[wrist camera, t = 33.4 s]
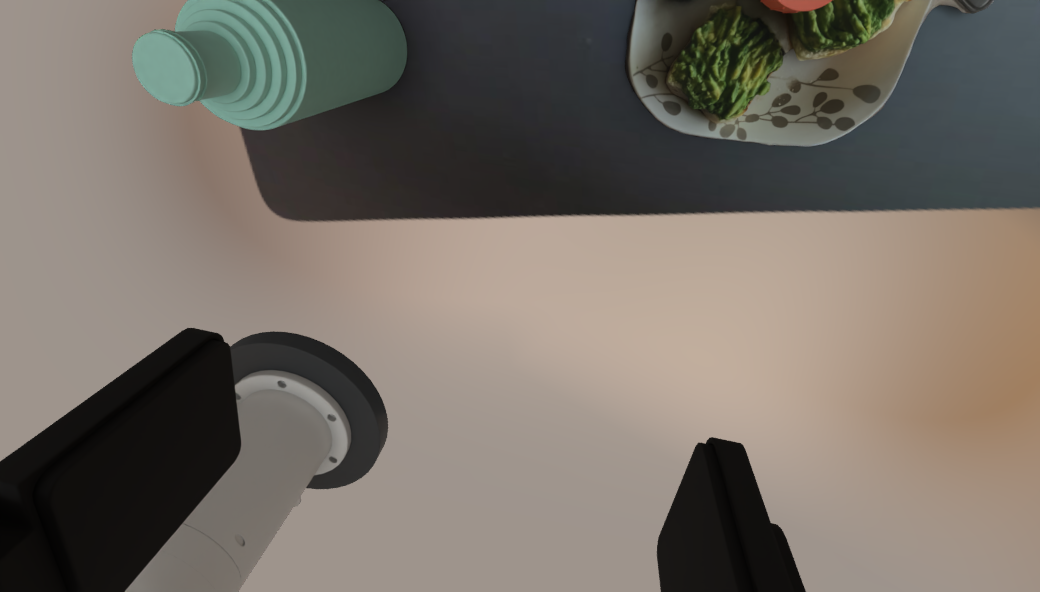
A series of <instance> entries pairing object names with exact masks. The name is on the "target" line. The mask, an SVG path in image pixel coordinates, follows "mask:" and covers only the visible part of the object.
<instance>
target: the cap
mask: <svg viewBox="0 0 1040 592" xmlns="http://www.w3.org/2000/svg"><path fill="white" fill-rule="evenodd" d="M831 1H832V0H761V2H763V3H764V4H765V5H766V6H767V7H769V8H770V10H775V11H780V12H782V13H798V12H799V11H813V10H815V9H818V8H820V7H823V6H825V5H826V4H828V3H830V2H831Z"/></svg>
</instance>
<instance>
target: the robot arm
mask: <svg viewBox="0 0 1040 592" xmlns="http://www.w3.org/2000/svg"><path fill="white" fill-rule="evenodd" d="M350 444H351V429H350V425H349V421H348V419H347V417H346V415H345V413H344V411H343V410H342V408H341V407H340V405H339V404H338V403H337V402H336V401H335V400H334V398H333V397H332V396H331V395H330V394H329V393H327V392H326V391H325V390H324V389H322V388H321V387H320V386H318V385H317V384H315V383H313V382H311V381H310V380H308V379H306V378H303V377H301V376H299V375H296V374H293V373H289V372H285V371H277V370H264V371H258V372H254V373H251V374H249V375H247V376H245V377H244V378H242V379H241V380H240V381H239V382H238V383H237V384H236V385H235V384H234V375H233V367H232V358H231V350H230V346H229V345H228V343H225V342H224V340H223V337H222V336H221V335H220V334H218V333H214V332H209V331H204V330H200V329H195V328H187V329H185V330H183V331H181V332H180V333H179V334H177V335H176V336H175V337H173V338H172V339H170V340H169V341H168V342H166V343H165V344H163V345H162V346H161V347H159V348H158V349H156V350H155V351H154V352H152V353H151V354H149V355H148V356H147V357H145V358H144V359H142V360H141V361H140V362H139V363H137V364H136V365H134V366H133V367H132V368H130V369H129V370H127V371H126V372H124V373H123V374H122V375H120V376H119V377H117V378H116V379H115V380H113V381H112V382H110V383H109V384H108V385H106V386H105V387H103V388H102V389H101V390H99V391H98V392H97V393H95V394H94V395H92V396H91V397H90V398H88V399H87V400H85V401H84V402H83V403H81V404H80V405H79V406H77V407H76V408H74V409H73V410H71V411H70V412H69V413H67V414H66V415H64V416H63V417H62V418H60V419H59V420H58V421H56V422H55V423H53V424H52V425H51V426H49V427H48V428H46V429H45V430H44V431H42V432H41V433H39V434H38V435H37V436H35V437H34V438H32V439H31V440H30V441H28V442H27V443H26V444H24V445H23V446H21V447H20V448H19V449H18V450H16V451H15V452H13V453H12V454H10V455H9V456H7V457H6V458H5V459H3V460H2V461H0V592H238V591H239V590H240V588H241V587H242V585H243V584H244V582H245V580H246V579H247V577H248V576H249V574H250V573H251V571H252V570H253V568H254V567H255V565H256V564H257V562H258V560H259V559H260V558H261V556H262V554H263V553H264V551H265V550H266V548H267V547H268V545H269V544H270V542H271V541H272V539H273V538H274V536H275V534H276V533H277V531H278V530H279V528H280V527H281V525H282V524H283V522H284V521H285V519H286V518H287V516H288V515H289V513H290V511H291V510H292V508H293V507H295V506H297V505H299V504H300V502H301V494H302V493H303V492H304V490H305V488H306V487H307V485H308V484H309V482H310V481H311V479H312V478H313V476H314V475H318V474H323V473H326V472H328V471H331V470H333V469H334V468H335V467H337V466H338V465H339V464H340V463H341V461H342V460H343V459H344V457H345V456H346V454H347V452H348V450H349V448H350ZM657 560H658V569H659V578H660V587H661V592H806V591H805V588H804V586H803V583H802V580H801V578H800V575H799V572H798V569H797V567H796V564H795V561H794V558H793V556H792V553H791V551H790V548H789V545H788V542H787V539H786V537H785V535H784V533H783V531H782V529H781V528H780V527H779V526H778V525H776V524H772V523H770V520H769V517H768V514H767V511H766V508H765V505H764V502H763V500H762V497H761V494H760V491H759V488H758V485H757V482H756V479H755V476H754V474H753V471H752V468H751V465H750V462H749V459H748V456H747V453H746V451H745V448H744V446H743V445H742V444H741V443H736V442H732V441H727V440H722V439H718V438H713V437H712V438H709V439H708V440H707V442H706V444H704V443H698V444H697V445H696V447H695V449H694V452H693V454H692V457H691V459H690V462H689V464H688V466H687V469H686V471H685V474H684V476H683V479H682V481H681V484H680V486H679V489H678V491H677V494H676V496H675V498H674V501H673V503H672V506H671V509H670V511H669V513H668V516H667V518H666V521H665V523H664V526H663V528H662V530H661V533H660V535H659V539H658V545H657Z"/></svg>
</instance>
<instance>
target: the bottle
mask: <svg viewBox="0 0 1040 592" xmlns="http://www.w3.org/2000/svg"><path fill="white" fill-rule="evenodd" d="M406 61H407V43H406V38H405V34H404V31H403V28H402V26H401V24H400V22H399V20H398V19H397V17H396V16H395V14H394V13H393V12H392V11H391V10H390V9H389V8H388V7H387V6H386V5H385V4H384V3H382V2H381V1H379V0H188V1H187V2H186V3H185V4H184V6H183V7H182V9H181V11H180V13H179V15H178V18H177V21H176V26H175V32H174V31H170V30H165V29H161V30H154V31H151V32H150V33H147V34H144V35H143V36H141V37H140V38H139V39H138V40H137V41H136V43H135V45H134V47H133V52H132V62H133V67H134V70H135V73H136V75H137V78H138V79H139V81H140V83H141V84H142V86H143V87H144V88H145V89H146V90H147V91H148V92H149V93H150V94H151V95H152V96H154V97H155V98H156V99H158V100H160V101H162V102H165V103H167V104H170V105H174V106H186V105H189V104H191V103H192V102H194V101H200V102H201V103H202V104H203V105H204V106H205V107H206V108H207V109H208V110H210V111H211V112H212V113H213V114H215V115H216V116H218V117H219V118H221V119H223V120H225V121H227V122H229V123H232V124H234V125H237V126H239V127H242V128H246V129H251V130H268V129H273V128H276V127H279V126H282V125H285V124H288V123H291V122H294V121H297V120H300V119H303V118H307V117H310V116H313V115H316V114H319V113H322V112H325V111H328V110H331V109H334V108H337V107H340V106H343V105H346V104H349V103H352V102H355V101H358V100H361V99H364V98H367V97H371V96H374V95H377V94H380V93H383V92H385V91H387V90H389V89H390V88H391V87H393V86H394V85H395V84H396V83H397V81H398V80H399V79H400V77H401V75H402V73H403V71H404V69H405V65H406Z"/></svg>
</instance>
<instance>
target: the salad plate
mask: <svg viewBox="0 0 1040 592" xmlns="http://www.w3.org/2000/svg"><path fill="white" fill-rule="evenodd" d="M993 1H994V0H832V1H831V2H830V3H828V4H826V5H825V6H823V7H820V8H818V9H815V10H813V11H799V12H798V13H782V12H780V11H775V10H770V8H769V7H767V6H766V5H765V4H764V3H763V2H761V0H636V3H635V9H634V12H633V15H632V19H631V23H630V27H629V31H628V36H627V51H626V60H625V70H626V74H627V77H628V80H629V82H630V85H631V87H632V89H633V91H634V92H635V93H636V95H637V96H638V98H639V99H640V101H641V102H642V103H643V105H644V106H645V107H646V109H647V110H648V111H649V112H650V113H651V114H652V115H653V116H654V117H655V118H656V119H657V120H658V121H660V122H661V123H662V124H664V125H665V126H667V127H668V128H671V129H673V130H676V131H678V132H681V133H684V134H688V135H692V136H696V137H704V138H713V139H727V140H735V141H743V142H755V143H761V144H766V145H778V146H815V145H821V144H824V143H827V142H830V141H832V140H835V139H837V138H839V137H842V136H844V135H846V134H847V133H848V132H850V131H852V130H853V129H855V128H856V127H857V126H859V125H860V124H862V123H863V122H865V121H866V120H868V119H870V118H871V117H872V116H874V115H875V114H876V113H877V112H878V111H880V110H881V109H882V108H883V107H884V105H885V103H886V101H887V100H888V98H889V97H890V95H891V94H892V92H893V90H894V88H895V86H896V84H897V82H898V79H899V77H900V75H901V73H902V70H903V68H904V65H905V63H906V60H907V58H908V57H909V55H910V53H911V49H912V45H913V43H914V41H915V38H916V36H917V33H918V31H919V29H920V27H921V25H922V23H923V22H924V21H925V19H926V17H927V15H928V14H929V13H930V11H931V10H932V9H933V8H935V7H937V6H939V5H948V6H952V7H956V8H958V9H959V10H960V11H962V12H963V13H976V12H979V11H981V10H984V9H986V8H988V7H989V6H990V5H991V4H992V2H993Z"/></svg>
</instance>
